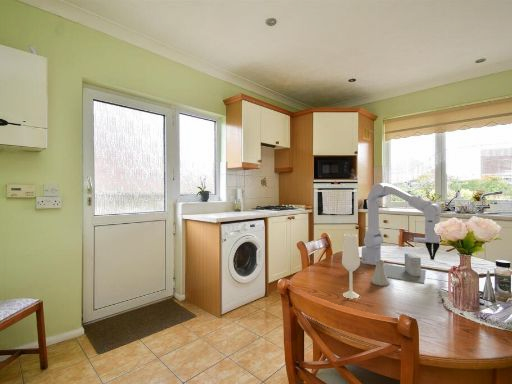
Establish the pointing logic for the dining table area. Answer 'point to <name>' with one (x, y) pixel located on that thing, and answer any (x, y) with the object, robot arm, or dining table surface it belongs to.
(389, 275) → the mat
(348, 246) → the champagne flute
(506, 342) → the dining table surface
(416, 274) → the medicine box
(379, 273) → the flask
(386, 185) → the robot arm
